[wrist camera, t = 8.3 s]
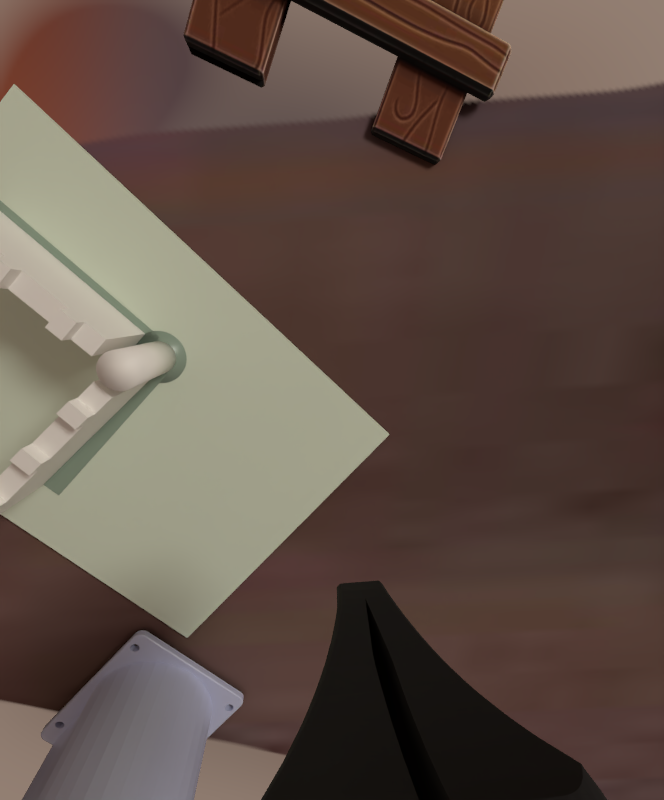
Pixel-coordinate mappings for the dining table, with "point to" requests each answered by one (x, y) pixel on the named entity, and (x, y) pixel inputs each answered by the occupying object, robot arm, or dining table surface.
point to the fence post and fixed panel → (78, 312)
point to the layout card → (159, 396)
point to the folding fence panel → (60, 441)
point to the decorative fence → (387, 28)
